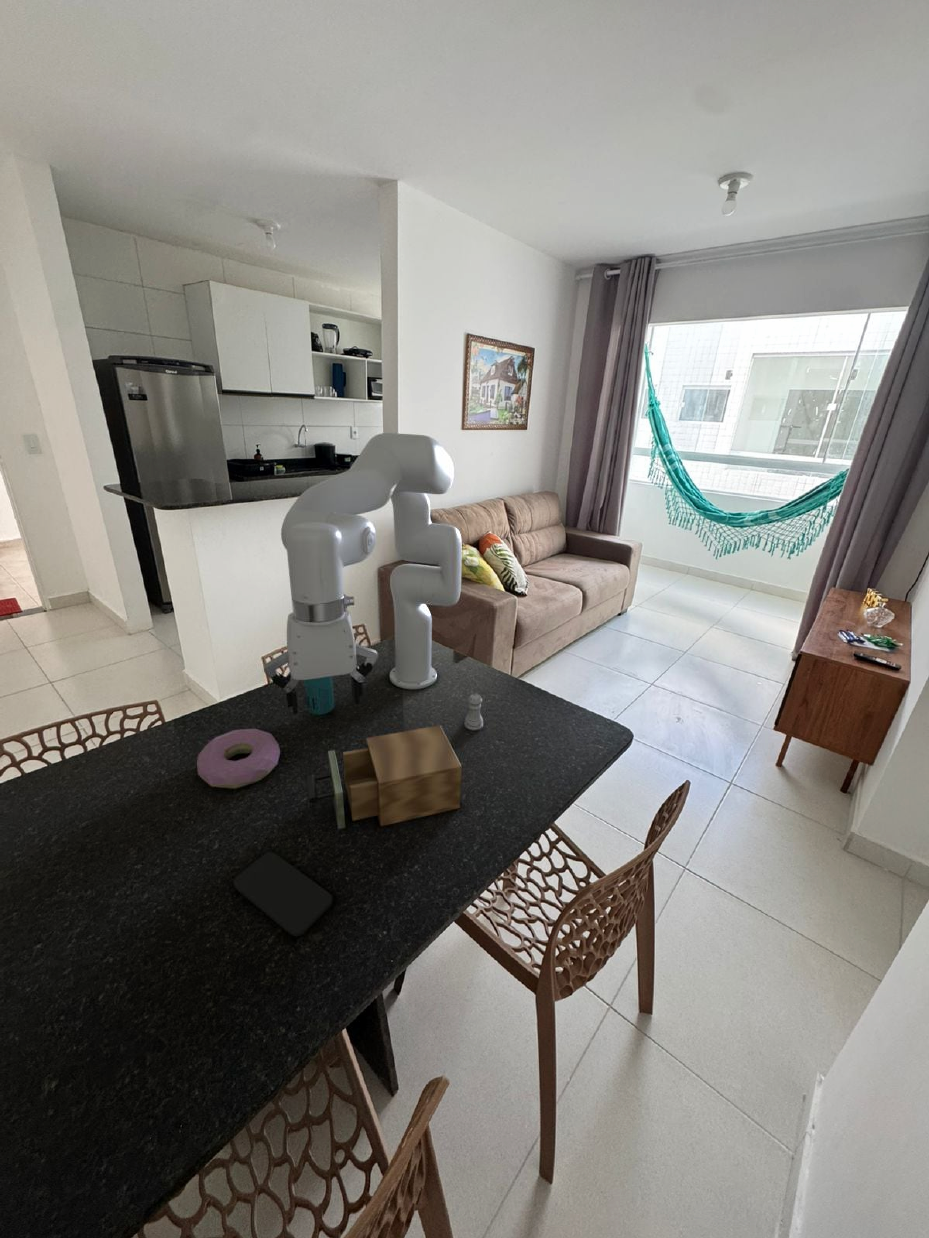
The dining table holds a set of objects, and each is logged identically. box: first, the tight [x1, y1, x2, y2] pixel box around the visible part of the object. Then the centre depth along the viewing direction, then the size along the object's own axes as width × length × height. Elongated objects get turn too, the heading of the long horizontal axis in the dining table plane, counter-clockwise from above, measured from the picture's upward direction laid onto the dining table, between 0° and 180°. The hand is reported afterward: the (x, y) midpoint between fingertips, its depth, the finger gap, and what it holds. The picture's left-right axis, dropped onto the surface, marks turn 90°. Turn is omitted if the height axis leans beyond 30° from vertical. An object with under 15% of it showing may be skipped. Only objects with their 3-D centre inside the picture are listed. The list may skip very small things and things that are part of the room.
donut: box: [196, 728, 281, 790], centre depth 102 cm, size 16×15×5 cm
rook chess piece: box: [463, 692, 484, 732], centre depth 117 cm, size 4×4×8 cm
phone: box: [232, 851, 333, 937], centre depth 77 cm, size 7×1×15 cm
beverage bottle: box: [303, 676, 336, 716], centre depth 117 cm, size 6×7×20 cm
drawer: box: [306, 747, 379, 830], centre depth 93 cm, size 18×12×8 cm, turn 110°
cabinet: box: [365, 724, 462, 827], centre depth 96 cm, size 15×13×10 cm
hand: (326, 704), depth 83 cm, fingers open, 9 cm apart
